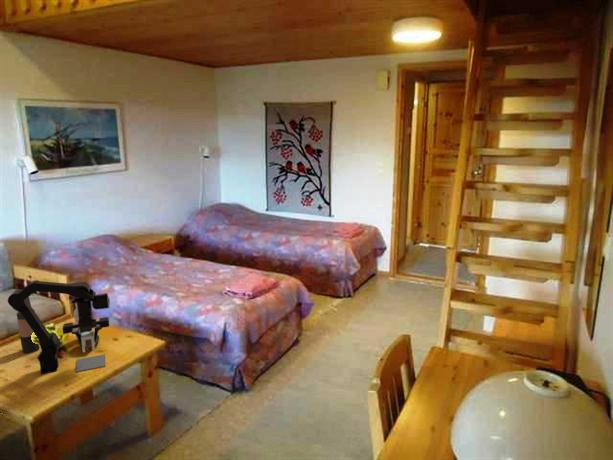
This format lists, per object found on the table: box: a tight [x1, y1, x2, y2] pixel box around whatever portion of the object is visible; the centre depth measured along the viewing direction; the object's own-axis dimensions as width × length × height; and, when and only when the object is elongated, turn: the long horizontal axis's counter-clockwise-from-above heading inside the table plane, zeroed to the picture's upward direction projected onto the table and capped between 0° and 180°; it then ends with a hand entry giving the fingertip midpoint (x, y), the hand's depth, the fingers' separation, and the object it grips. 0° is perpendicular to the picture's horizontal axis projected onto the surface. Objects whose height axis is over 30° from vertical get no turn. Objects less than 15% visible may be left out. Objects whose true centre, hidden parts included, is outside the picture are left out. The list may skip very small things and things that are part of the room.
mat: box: [75, 353, 107, 373], centre depth 205 cm, size 12×12×1 cm
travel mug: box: [16, 308, 41, 354], centre depth 216 cm, size 8×8×20 cm
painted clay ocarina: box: [77, 334, 100, 351], centre depth 220 cm, size 10×15×8 cm, turn 33°
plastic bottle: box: [72, 303, 81, 341], centre depth 227 cm, size 6×7×20 cm
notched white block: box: [81, 329, 96, 353], centre depth 203 cm, size 7×5×7 cm
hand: (88, 342), depth 203 cm, fingers closed on notched white block, 5 cm apart
